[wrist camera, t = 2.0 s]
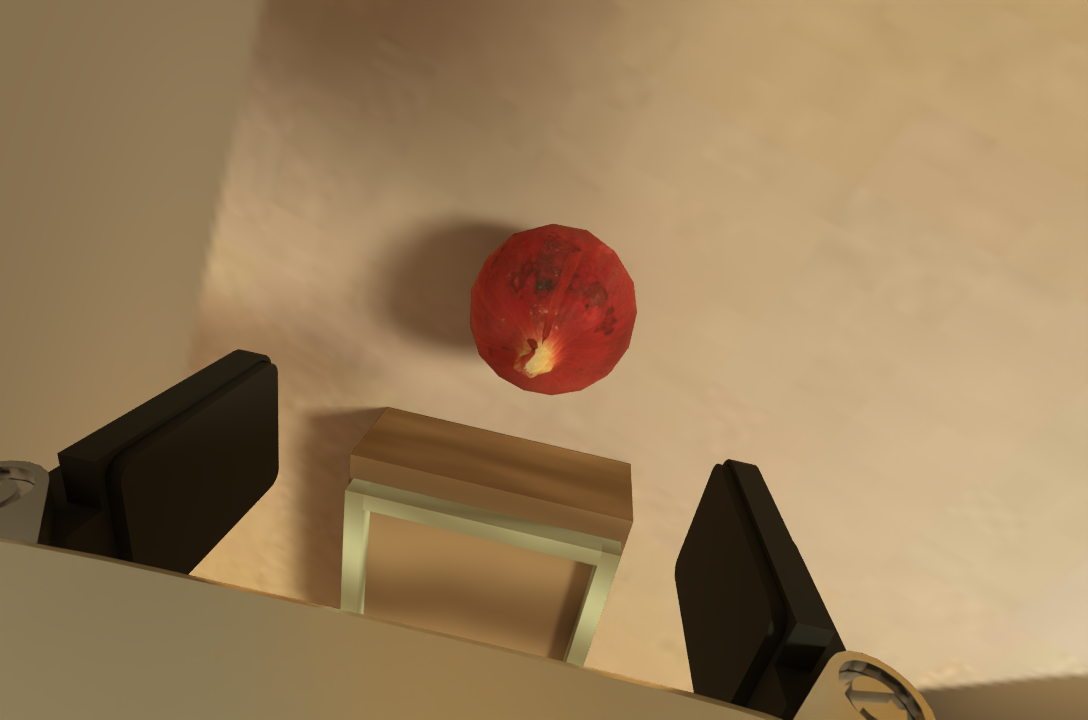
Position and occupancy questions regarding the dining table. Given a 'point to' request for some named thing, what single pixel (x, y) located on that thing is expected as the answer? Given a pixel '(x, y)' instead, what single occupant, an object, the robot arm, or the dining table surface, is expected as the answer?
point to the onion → (553, 310)
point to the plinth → (482, 534)
